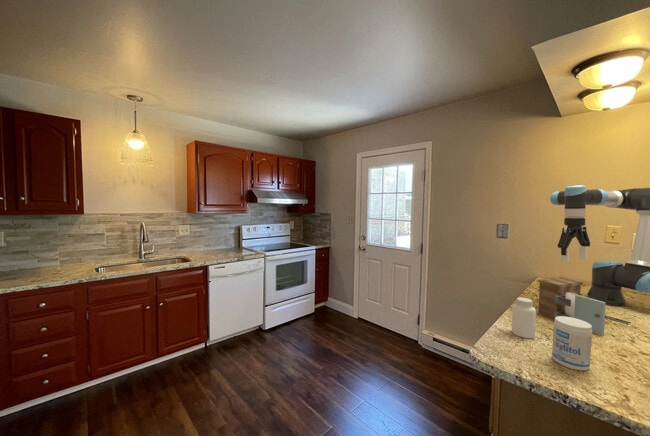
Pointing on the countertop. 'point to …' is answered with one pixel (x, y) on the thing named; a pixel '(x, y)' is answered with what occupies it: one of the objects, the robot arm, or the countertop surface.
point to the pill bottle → (524, 318)
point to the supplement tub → (572, 342)
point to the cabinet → (556, 295)
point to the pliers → (617, 320)
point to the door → (587, 311)
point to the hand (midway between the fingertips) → (573, 260)
